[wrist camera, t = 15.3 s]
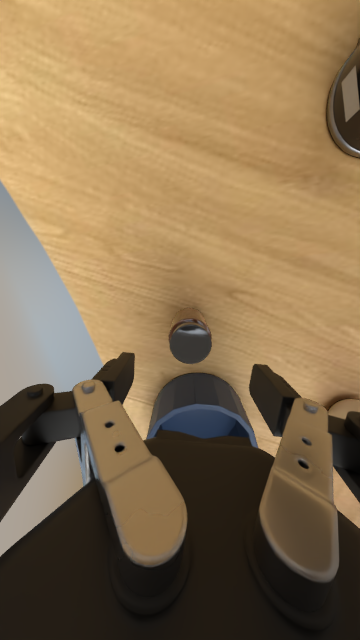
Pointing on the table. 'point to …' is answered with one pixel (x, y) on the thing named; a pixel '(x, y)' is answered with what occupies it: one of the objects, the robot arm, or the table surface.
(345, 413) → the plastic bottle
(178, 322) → the spice bottle
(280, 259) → the table surface
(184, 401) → the blue round pot
